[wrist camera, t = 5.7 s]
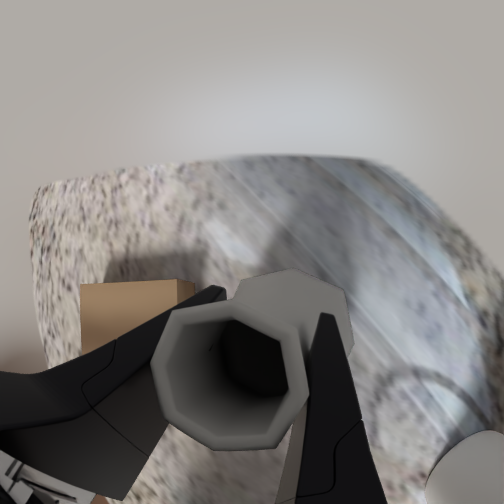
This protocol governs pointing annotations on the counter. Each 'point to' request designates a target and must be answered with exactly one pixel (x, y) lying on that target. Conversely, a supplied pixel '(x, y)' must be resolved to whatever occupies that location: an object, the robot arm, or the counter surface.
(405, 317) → the counter surface
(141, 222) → the counter surface
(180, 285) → the square wooden block
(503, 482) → the pill bottle
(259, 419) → the flask
